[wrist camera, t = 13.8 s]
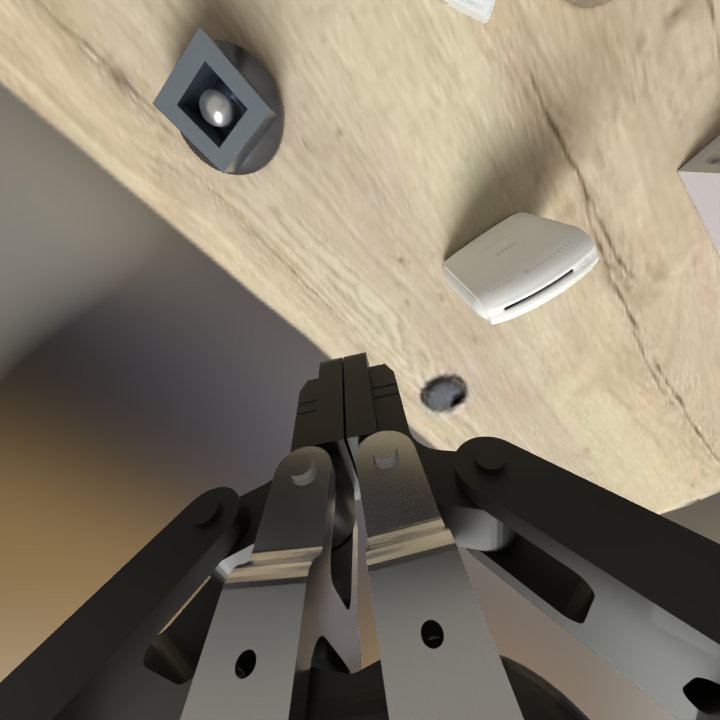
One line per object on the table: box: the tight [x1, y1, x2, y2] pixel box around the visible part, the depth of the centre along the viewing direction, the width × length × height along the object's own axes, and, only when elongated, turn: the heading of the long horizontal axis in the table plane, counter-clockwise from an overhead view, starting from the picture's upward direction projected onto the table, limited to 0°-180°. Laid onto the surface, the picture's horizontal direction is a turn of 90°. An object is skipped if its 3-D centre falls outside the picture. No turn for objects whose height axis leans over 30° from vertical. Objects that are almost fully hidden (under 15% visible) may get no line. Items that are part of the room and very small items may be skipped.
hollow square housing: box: [153, 27, 279, 173], centre depth 25 cm, size 6×6×4 cm
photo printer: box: [443, 212, 599, 324], centre depth 30 cm, size 10×4×12 cm, turn 125°
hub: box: [180, 40, 284, 175], centre depth 26 cm, size 9×9×4 cm
